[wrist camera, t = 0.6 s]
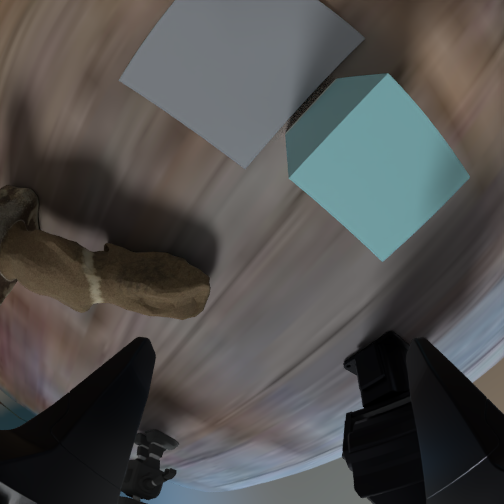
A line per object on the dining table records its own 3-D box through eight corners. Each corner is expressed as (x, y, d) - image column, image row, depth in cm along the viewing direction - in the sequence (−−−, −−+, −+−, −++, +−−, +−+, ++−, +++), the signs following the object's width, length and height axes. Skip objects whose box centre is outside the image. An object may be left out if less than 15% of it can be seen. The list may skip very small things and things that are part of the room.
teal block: (389, 131, 17) (469, 177, 9) (340, 181, 20) (382, 261, 11) (335, 78, 16) (388, 73, 8) (285, 133, 18) (288, 178, 10)
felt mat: (363, 39, 14) (365, 38, 14) (245, 167, 20) (244, 169, 19) (227, -51, 11) (226, -54, 11) (121, 80, 17) (118, 80, 17)
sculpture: (157, 231, 35) (205, 329, 25) (-20, 246, 23) (-40, 363, 13) (166, 173, 31) (225, 262, 21) (-32, 185, 18) (-80, 295, 9)
